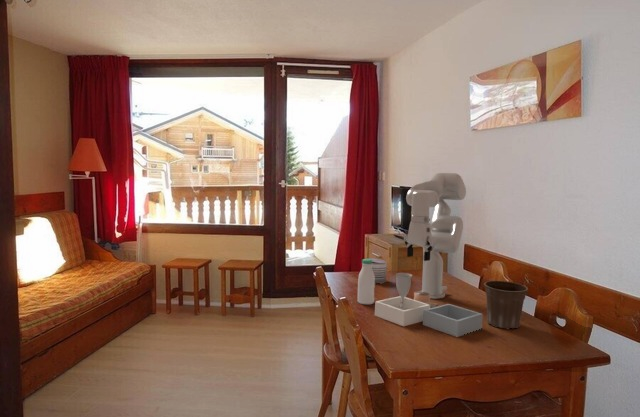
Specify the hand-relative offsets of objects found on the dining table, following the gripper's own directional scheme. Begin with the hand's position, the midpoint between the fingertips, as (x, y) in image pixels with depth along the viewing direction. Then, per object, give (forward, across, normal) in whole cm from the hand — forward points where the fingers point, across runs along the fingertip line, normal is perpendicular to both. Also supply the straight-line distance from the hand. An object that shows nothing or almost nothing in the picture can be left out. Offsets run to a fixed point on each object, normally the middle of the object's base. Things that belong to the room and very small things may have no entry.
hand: (418, 258), depth 198 cm
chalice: (+23, -5, +14) cm, 27 cm away
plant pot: (+23, -33, -15) cm, 43 cm away
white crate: (+22, -5, +14) cm, 27 cm away
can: (+24, +47, -19) cm, 56 cm away
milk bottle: (+23, +19, +13) cm, 33 cm away
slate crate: (+22, -24, +6) cm, 33 cm away
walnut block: (+23, -10, +2) cm, 25 cm away
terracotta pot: (+23, -1, -2) cm, 23 cm away
